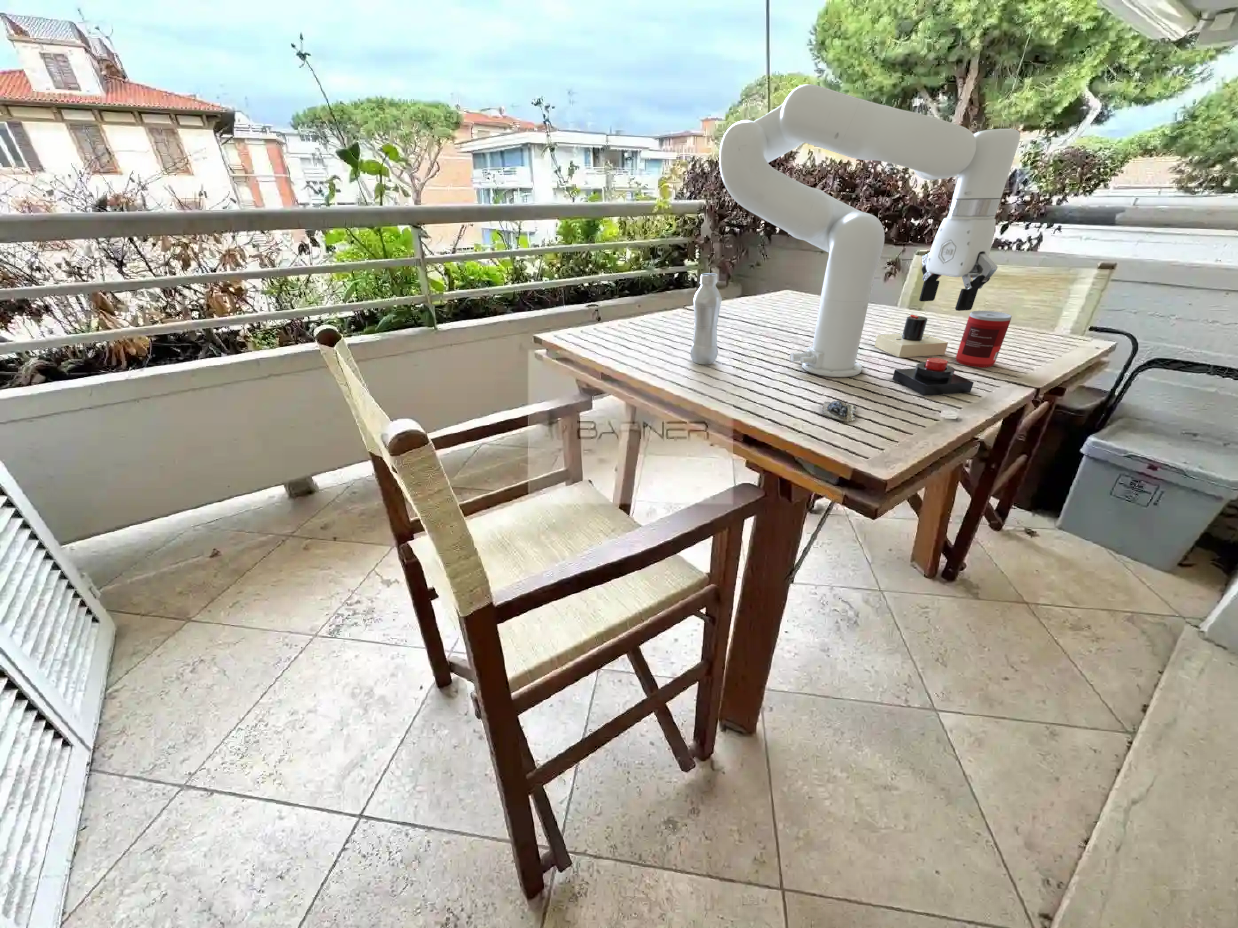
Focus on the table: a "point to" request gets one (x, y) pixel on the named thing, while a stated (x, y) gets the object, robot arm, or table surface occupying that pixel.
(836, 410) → the blueberries
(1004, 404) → the table surface
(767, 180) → the robot arm
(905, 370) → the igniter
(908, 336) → the knob
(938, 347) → the beige flat block
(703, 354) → the plastic bottle
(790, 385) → the table surface
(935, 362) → the button
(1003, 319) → the canned food
